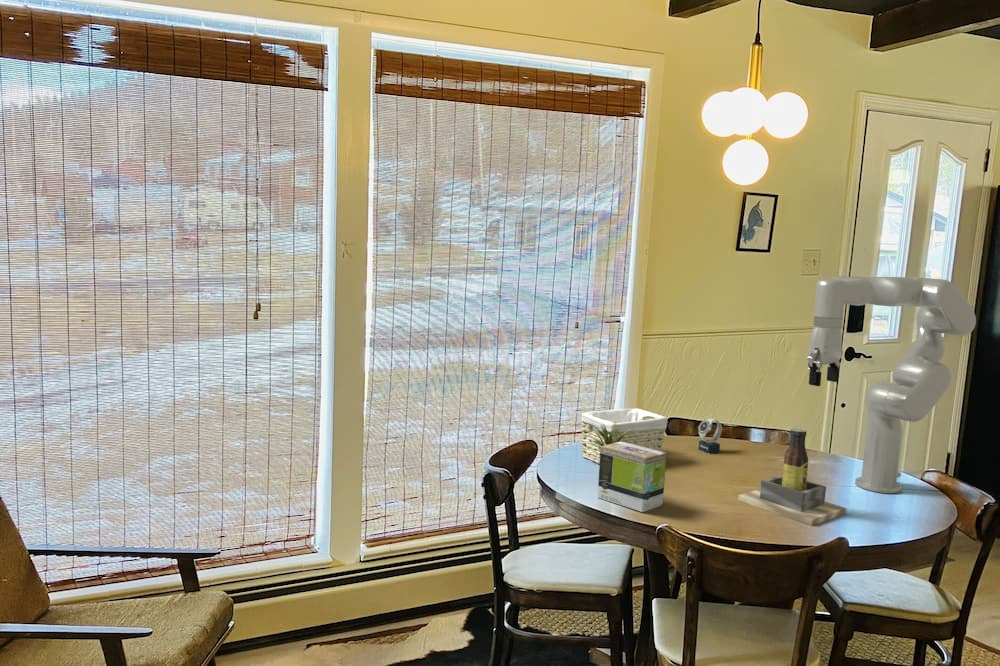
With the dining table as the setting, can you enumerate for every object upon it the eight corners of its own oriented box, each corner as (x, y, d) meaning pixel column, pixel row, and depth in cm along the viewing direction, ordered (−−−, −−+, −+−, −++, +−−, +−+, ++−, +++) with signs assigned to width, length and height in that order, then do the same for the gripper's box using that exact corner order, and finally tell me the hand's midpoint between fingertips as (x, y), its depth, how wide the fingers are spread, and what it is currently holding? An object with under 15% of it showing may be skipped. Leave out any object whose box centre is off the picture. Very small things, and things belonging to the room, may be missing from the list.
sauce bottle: (806, 506, 215) (813, 434, 212) (781, 504, 216) (789, 432, 213) (802, 499, 221) (809, 428, 219) (778, 496, 222) (785, 426, 220)
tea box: (663, 505, 215) (668, 451, 213) (642, 513, 208) (646, 458, 206) (618, 490, 225) (621, 439, 223) (595, 498, 218) (599, 445, 216)
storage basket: (632, 449, 270) (635, 406, 268) (666, 462, 256) (670, 416, 254) (576, 457, 257) (578, 411, 255) (609, 471, 243) (612, 423, 242)
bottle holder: (773, 490, 233) (775, 468, 232) (845, 513, 216) (848, 490, 215) (738, 500, 222) (740, 477, 221) (811, 525, 205) (814, 501, 204)
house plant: (574, 477, 235) (578, 423, 233) (587, 465, 248) (591, 413, 246) (622, 485, 230) (627, 430, 228) (633, 472, 243) (637, 420, 240)
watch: (693, 449, 272) (696, 418, 271) (713, 448, 275) (716, 417, 274) (703, 454, 267) (706, 422, 266) (723, 452, 270) (726, 420, 269)
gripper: (831, 319, 233) (826, 377, 236) (799, 323, 222) (794, 384, 225) (856, 322, 227) (851, 381, 230) (824, 327, 216) (820, 389, 219)
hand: (823, 383), depth 227 cm, fingers open, 9 cm apart
